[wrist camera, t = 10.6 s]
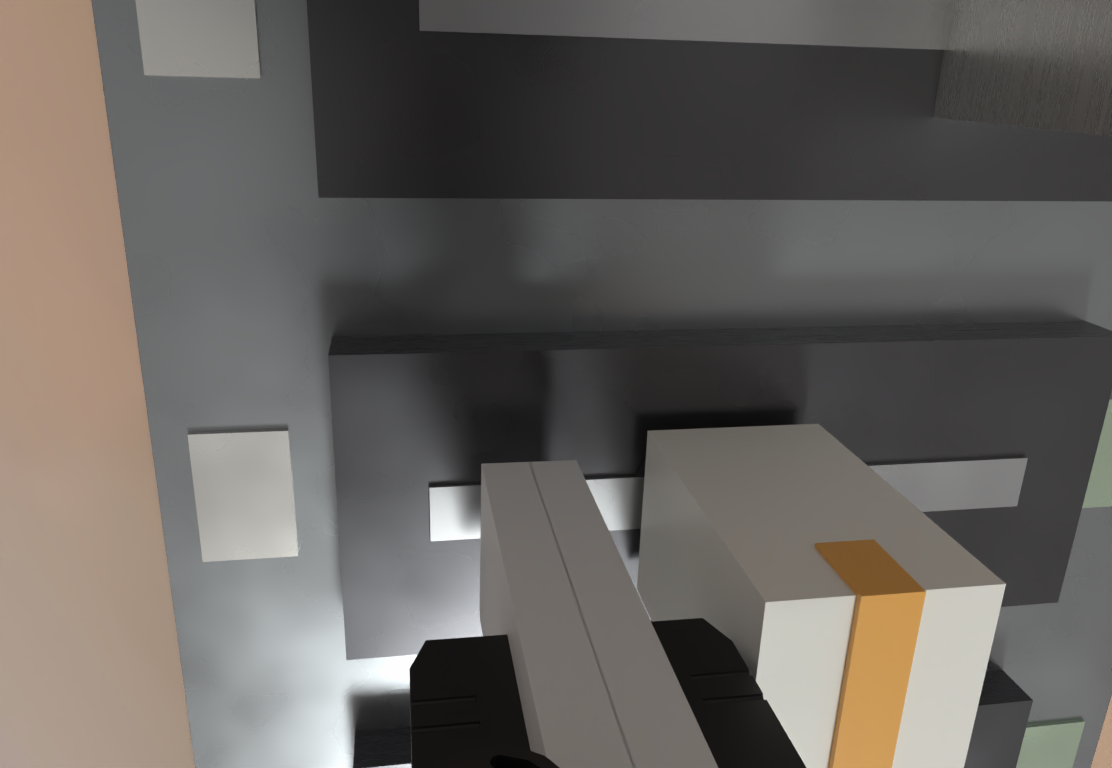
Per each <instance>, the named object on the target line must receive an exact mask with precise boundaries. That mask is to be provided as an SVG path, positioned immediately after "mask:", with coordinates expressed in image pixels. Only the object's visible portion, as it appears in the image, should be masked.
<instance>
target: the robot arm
mask: <svg viewBox="0 0 1112 768" xmlns="http://www.w3.org/2000/svg"><path fill="white" fill-rule="evenodd" d="M480 622H481V628H482V634H483V636H479V637H465V638H450V639H436V640H426V641H425V643H424V644H423V646H422V648H421V650H420V651H419V653H418V655H417V656H416V658H415V660H414V662H413V663H412V665H411V667H410V668H409V675H410V725H411V768H806V766H805V764H804V763H803V761H802V759H801V757H800V756H799V754H798V752H797V751H796V749H795V747H794V745H793V744H792V742H791V740H790V739H789V737H788V735H787V733H786V732H785V730H784V728H783V727H782V725H781V723H780V722H779V720H778V718H777V716H776V715H775V713H774V711H773V710H772V708H771V706H770V704H769V703H768V701H767V700H764V698H763V693H762V691H761V689H760V687H759V686H758V684H757V682H756V681H755V679H754V677H753V675H751V676H750V674H749V669H748V667H747V665H746V663H745V662H744V660H743V658H742V657H741V655H740V653H739V652H738V650H737V648H736V646H735V645H734V643H733V641H732V640H730V639H729V638H728V637H726V636H725V635H724V634H723V633H721V632H720V631H719V630H718V629H716V628H715V627H714V626H712V625H711V624H710V623H709V622H707V621H706V620H705V619H703V618H694V619H680V620H665V621H650V619H649V616H648V614H647V612H646V610H645V608H644V606H643V603H642V601H641V599H640V597H639V595H638V593H637V590H636V588H635V586H634V584H633V582H632V580H631V577H630V575H629V573H628V571H627V569H626V567H625V564H624V562H623V560H622V558H621V556H620V554H619V551H618V549H617V547H616V545H615V543H614V541H613V538H612V536H611V534H610V532H609V530H608V528H607V525H606V523H605V521H604V519H603V517H602V515H601V512H600V510H599V508H598V506H597V504H596V502H595V499H594V497H593V495H592V493H591V491H590V489H589V486H588V484H587V482H586V480H585V478H584V475H583V473H582V471H581V469H580V467H579V465H578V462H577V460H566V461H540V462H512V463H486V464H481V539H480Z"/></svg>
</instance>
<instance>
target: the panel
mask: <svg viewBox="0 0 1112 768" xmlns="http://www.w3.org/2000/svg"><path fill="white" fill-rule="evenodd" d="M92 7H93V15H94V22H95V30H96V37H97V44H98V52H99V59H100V67H101V74H102V81H103V89H104V96H105V104H106V111H107V118H108V126H109V133H110V141H111V148H112V155H113V163H114V170H115V178H116V185H117V192H118V200H119V207H120V215H121V222H122V229H123V237H124V244H125V252H126V259H127V266H128V274H129V281H130V289H131V296H132V303H133V311H134V318H135V326H136V333H137V340H138V348H139V355H140V363H141V370H142V377H143V385H144V392H145V400H146V407H147V414H148V422H149V429H150V437H151V444H152V451H153V459H154V466H155V474H156V481H157V488H158V496H159V503H160V511H161V518H162V525H163V533H164V540H165V548H166V555H167V562H168V570H169V577H170V585H171V592H172V599H173V607H174V614H175V622H176V629H177V636H178V644H179V651H180V659H181V666H182V673H183V681H184V688H185V696H186V703H187V710H188V718H189V725H190V733H191V740H192V747H193V755H194V762H195V768H411V725H410V675H409V668H410V667H411V665H412V663H413V662H414V660H415V658H416V656H417V655H418V653H419V651H420V650H421V648H422V646H423V644H424V643H425V641H426V640H436V639H450V638H465V637H479V636H483V634H482V628H481V622H480V539H481V464H486V463H512V462H540V461H566V460H577V462H578V465H579V467H580V469H581V471H582V473H583V475H584V478H585V480H586V482H587V484H588V486H589V489H590V491H591V493H592V495H593V497H594V499H595V502H596V504H597V506H598V508H599V510H600V512H601V515H602V517H603V519H604V521H605V523H606V525H607V528H608V530H609V532H610V534H611V536H612V538H613V541H614V543H615V545H616V547H617V549H618V551H619V554H620V556H621V558H622V560H623V562H624V564H625V567H626V569H627V571H628V573H629V575H630V577H631V580H632V582H633V584H634V586H635V588H636V590H637V578H638V563H639V549H640V534H641V520H642V505H643V491H644V476H645V461H646V447H647V432H648V431H652V430H676V429H701V428H725V427H750V426H775V425H799V424H819V425H821V426H822V427H823V428H824V429H825V430H826V431H828V432H829V433H830V434H831V435H832V436H833V437H835V438H836V439H837V440H838V441H839V442H840V443H842V444H843V445H844V446H845V447H846V448H847V449H849V450H850V451H851V452H852V453H853V454H855V455H856V456H857V457H858V458H859V459H860V460H862V461H863V462H864V463H865V464H866V465H867V466H869V467H870V468H871V469H872V470H873V471H874V472H876V473H877V474H878V475H879V476H880V477H881V478H883V479H884V480H885V481H886V482H887V483H888V484H890V485H891V486H892V487H893V488H894V489H896V490H897V491H898V492H899V493H900V494H901V495H903V496H904V497H905V498H906V499H907V500H908V501H910V502H911V503H912V504H913V505H914V506H915V507H917V508H918V509H919V510H920V511H921V512H922V513H924V514H925V515H926V516H927V517H928V518H929V519H931V520H932V521H933V522H934V523H935V524H937V525H938V526H939V527H940V528H941V529H942V530H944V531H945V532H946V533H947V534H948V535H949V536H951V537H952V538H953V539H954V540H955V541H956V542H958V543H959V544H960V545H961V546H962V547H963V548H965V549H966V550H967V551H968V552H969V553H970V554H972V555H973V556H974V557H975V558H976V559H977V560H979V561H980V562H981V563H982V564H983V565H985V566H986V567H987V568H988V569H989V570H990V571H992V572H993V573H994V574H995V575H996V576H997V577H999V578H1000V579H1001V580H1002V581H1003V582H1004V583H1006V586H1005V591H1004V595H1003V600H1002V604H1001V608H1000V613H999V617H998V621H997V626H996V630H995V634H994V639H993V643H992V647H991V652H990V656H989V660H988V665H987V669H986V674H985V678H984V682H983V687H982V691H981V695H980V700H979V704H978V708H977V713H976V717H975V721H974V726H973V730H972V734H971V739H970V743H969V748H968V752H967V756H966V761H965V765H964V768H1091V764H1092V761H1093V757H1094V754H1095V751H1096V747H1097V744H1098V740H1099V737H1100V733H1101V730H1102V726H1103V723H1104V719H1105V716H1106V713H1107V709H1108V706H1109V702H1110V699H1111V695H1112V0H92ZM637 593H638V595H639V597H640V594H639V592H638V590H637ZM640 599H641V597H640ZM641 601H642V599H641ZM642 603H643V601H642ZM643 606H644V608H645V610H646V607H645V605H644V603H643ZM646 612H647V610H646ZM647 614H648V612H647ZM648 616H649V614H648ZM649 619H650V621H652V620H651V618H650V616H649Z"/></svg>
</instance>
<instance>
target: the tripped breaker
mask: <svg viewBox="0 0 1112 768" xmlns="http://www.w3.org/2000/svg"><path fill="white" fill-rule="evenodd" d="M1005 586H1006V583H1004V582H1003V581H1002V580H1001V579H1000V578H999V577H997V576H996V575H995V574H994V573H993V572H992V571H990V570H989V569H988V568H987V567H986V566H985V565H983V564H982V563H981V562H980V561H979V560H977V559H976V558H975V557H974V556H973V555H972V554H970V553H969V552H968V551H967V550H966V549H965V548H963V547H962V546H961V545H960V544H959V543H958V542H956V541H955V540H954V539H953V538H952V537H951V536H949V535H948V534H947V533H946V532H945V531H944V530H942V529H941V528H940V527H939V526H938V525H937V524H935V523H934V522H933V521H932V520H931V519H929V518H928V517H927V516H926V515H925V514H924V513H922V512H921V511H920V510H919V509H918V508H917V507H915V506H914V505H913V504H912V503H911V502H910V501H908V500H907V499H906V498H905V497H904V496H903V495H901V494H900V493H899V492H898V491H897V490H896V489H894V488H893V487H892V486H891V485H890V484H888V483H887V482H886V481H885V480H884V479H883V478H881V477H880V476H879V475H878V474H877V473H876V472H874V471H873V470H872V469H871V468H870V467H869V466H867V465H866V464H865V463H864V462H863V461H862V460H860V459H859V458H858V457H857V456H856V455H855V454H853V453H852V452H851V451H850V450H849V449H847V448H846V447H845V446H844V445H843V444H842V443H840V442H839V441H838V440H837V439H836V438H835V437H833V436H832V435H831V434H830V433H829V432H828V431H826V430H825V429H824V428H823V427H822V426H821V425H819V424H799V425H775V426H750V427H725V428H701V429H676V430H652V431H648V432H647V447H646V461H645V476H644V491H643V505H642V520H641V534H640V549H639V563H638V578H637V590H638V592H639V594H640V597H641V599H642V601H643V603H644V605H645V607H646V610H647V612H648V614H649V616H650V618H651V620H652V621H665V620H680V619H694V618H703V619H705V620H706V621H707V622H709V623H710V624H711V625H712V626H714V627H715V628H716V629H718V630H719V631H720V632H721V633H723V634H724V635H725V636H726V637H728V638H729V639H730V640H732V641H733V643H734V645H735V646H736V648H737V650H738V652H739V653H740V655H741V657H742V658H743V660H744V662H745V663H746V665H747V667H748V669H749V674H750V676H751V675H753V677H754V679H755V681H756V682H757V684H758V686H759V687H760V689H761V691H762V693H763V698H764V700H767V701H768V703H769V704H770V706H771V708H772V710H773V711H774V713H775V715H776V716H777V718H778V720H779V722H780V723H781V725H782V727H783V728H784V730H785V732H786V733H787V735H788V737H789V739H790V740H791V742H792V744H793V745H794V747H795V749H796V751H797V752H798V754H799V756H800V757H801V759H802V761H803V763H804V764H805V766H806V768H964V765H965V761H966V756H967V752H968V748H969V743H970V739H971V734H972V730H973V726H974V721H975V717H976V713H977V708H978V704H979V700H980V695H981V691H982V687H983V682H984V678H985V674H986V669H987V665H988V660H989V656H990V652H991V647H992V643H993V639H994V634H995V630H996V626H997V621H998V617H999V613H1000V608H1001V604H1002V600H1003V595H1004V591H1005Z"/></svg>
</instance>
